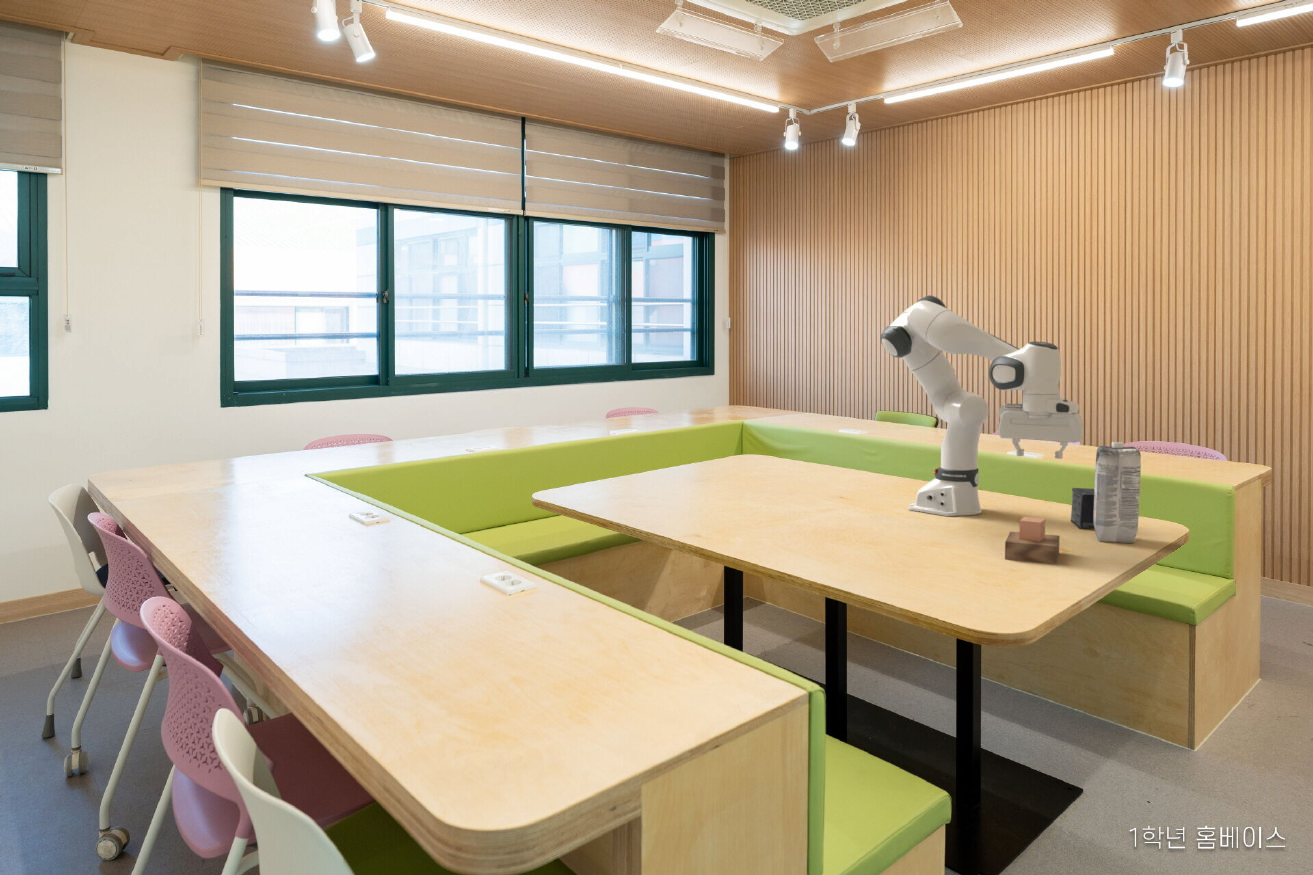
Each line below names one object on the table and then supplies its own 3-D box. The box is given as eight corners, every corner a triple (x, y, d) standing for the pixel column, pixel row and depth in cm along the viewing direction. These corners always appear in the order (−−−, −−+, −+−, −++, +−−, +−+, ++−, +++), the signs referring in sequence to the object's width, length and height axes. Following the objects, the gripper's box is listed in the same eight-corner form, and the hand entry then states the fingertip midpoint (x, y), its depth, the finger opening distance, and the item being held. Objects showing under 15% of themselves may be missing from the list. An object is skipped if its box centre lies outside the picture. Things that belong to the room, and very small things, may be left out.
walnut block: (1004, 560, 221) (1005, 541, 221) (1009, 549, 232) (1010, 531, 231) (1056, 565, 216) (1056, 546, 215) (1058, 554, 226) (1059, 535, 225)
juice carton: (1138, 544, 232) (1143, 445, 228) (1095, 542, 235) (1098, 444, 232) (1133, 537, 240) (1138, 441, 236) (1091, 534, 244) (1095, 440, 240)
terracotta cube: (1019, 539, 223) (1019, 520, 222) (1024, 535, 227) (1025, 516, 226) (1039, 541, 220) (1040, 522, 219) (1044, 537, 224) (1045, 518, 223)
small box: (1103, 530, 249) (1105, 494, 248) (1079, 529, 250) (1081, 494, 249) (1093, 521, 259) (1094, 487, 258) (1069, 521, 260) (1071, 487, 259)
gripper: (996, 404, 227) (994, 455, 229) (1080, 406, 215) (1078, 461, 217) (1002, 402, 232) (1001, 452, 234) (1085, 404, 220) (1083, 458, 222)
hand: (1039, 457), depth 226 cm, fingers open, 8 cm apart
